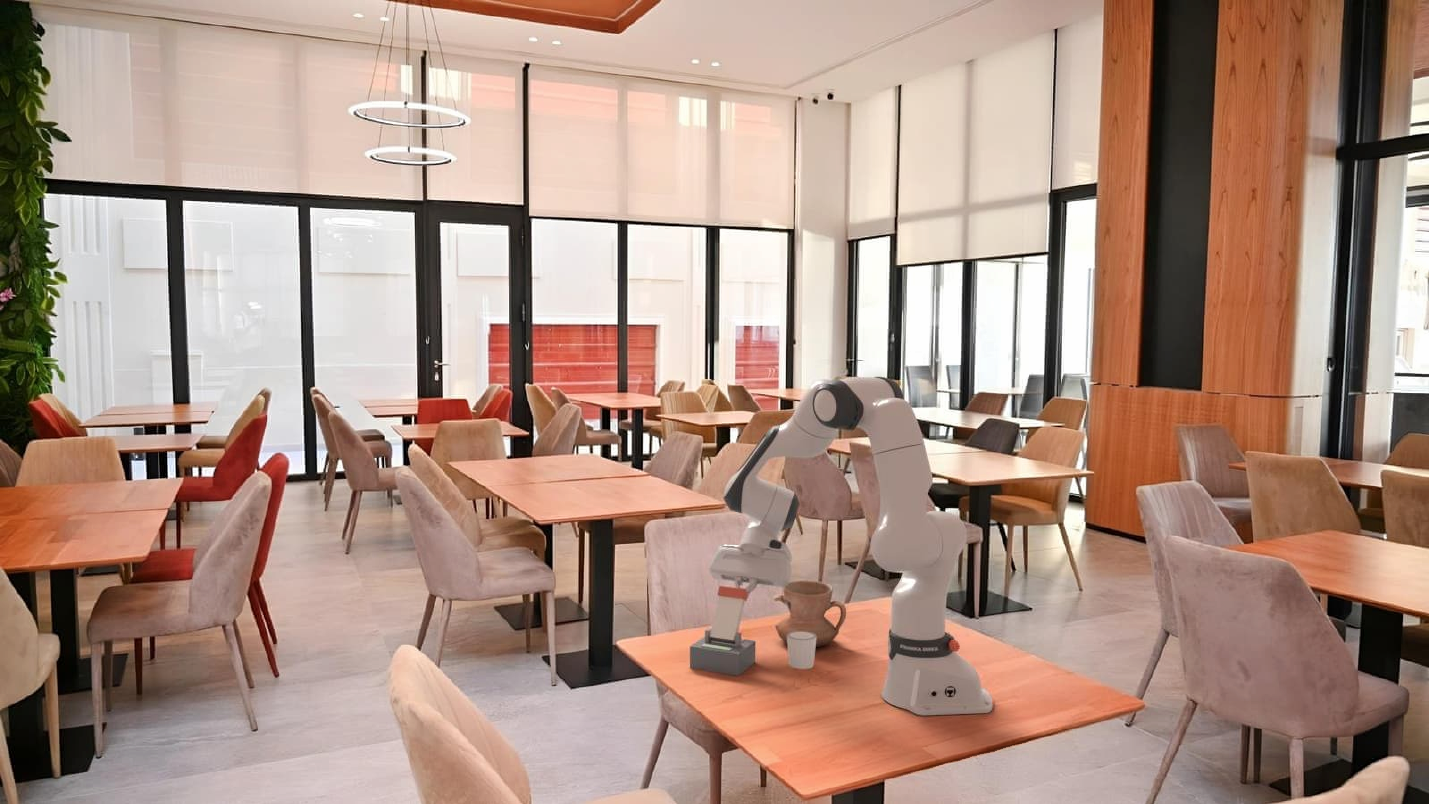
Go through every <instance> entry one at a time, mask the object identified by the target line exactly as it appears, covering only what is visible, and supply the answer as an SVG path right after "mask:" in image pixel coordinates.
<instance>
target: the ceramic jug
mask: <svg viewBox="0 0 1429 804" xmlns="http://www.w3.org/2000/svg"><path fill="white" fill-rule="evenodd" d="M782 593H783V594H776V595H774V596H773V600H774V601H775V602H777V601H778V602H781V603H782V604H784V605H785V606H786V607H787V609H788V611H789V615H788V616H786V617H784V618H783V619H781V621H780V622H777V624H775V625H774V626H775V630H776V631H777V635H778V637H779V638H780V639H781V640H782V641H783V642H785V643H787V634H788V633H790V632H794V631H806V632H811V633H814V634H816V636H817V638H816V647H822V646H825V645H828V644H830V643H831V642H833V641H834V640H835V639H836V637H837V636H838V635H839V632H840V631H839V630H840V629H841V627H842V625H843V624H844V623H845V621H846V616H847V609H846V606H845V604H844V603H843V602H841V601H839V600H833V601H831V600H832V596H833V593H834V592H833V587H832V585H830V584H828V583H826V582H821V581H818V580H817V581H816V580H809V579H808V580H806V579H805V580H793V581H791V580H790V581H789V584H788V585H787V586H785V587H782ZM833 607H834V608H835V607H837V608H839V609H840V617H839V618H838V619H839V620H838V622H837V624H836V626H835V625H834V623H832V622H831V621H830V620H829V619H828V618H826V616H825V614H826V612H827V611H829V610H830V609H831V608H833ZM816 647H815V648H816Z"/></svg>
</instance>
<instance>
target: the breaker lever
mask: <svg viewBox="0 0 1429 804" xmlns="http://www.w3.org/2000/svg"><path fill="white" fill-rule="evenodd" d="M745 589H746V588H745ZM745 589H739V588H737V587H730V586H723V585H719V586H718V591H717V597H718V599H717V602H716V603H717V604H716V608H715V612H714V613H715V614H714V617H713V621H712V626H711V635H710V640H711V641H716V642H723V643H729V644H735V635H736V634H737V633H739V630H740V626H741V621H742V616H743V612H744V606H745V603H746V602H747V600H748V598H747V596H748V592H747V591H746V590H745Z"/></svg>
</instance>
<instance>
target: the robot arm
mask: <svg viewBox="0 0 1429 804" xmlns="http://www.w3.org/2000/svg"><path fill="white" fill-rule="evenodd" d="M856 428H859V429H861V430H862V431H864V432H865V433H866V435H867V436H868V440H869V443H870V449H871V452H872V453H871V454H872V458H873V461H874V462H873V463H874V467H875V472H876V476H877V481H878V486H879V487H878V489H879V497H880V500H879V501H880V503H879V504H880V505H879V514H878V515H879V516H878V522H877V525H876V528H875V530H874V532H873V534H872V536H871V539H870V552H871V555H872V556H871V557H873V560H874V562H875V563H876V564H877V566H879V568H881V569H883V570H884V571H886V572H890V573H902V575H901V578H900V580H899V581H898V583H897V585H896V586H895V587H894V589H893V591H892V594H891V614H890V615H891V618H890V620H891V621H890V629H889V631H888V637H887V654H888V658H889V660H888V668H887V673H886V677H885V678H886V679H885V682H884V686H883V689H882V693H881V697H882V699H883V700H885V702H887V703H888V704H891V706H892V705H893V706H895V707H898V708H901V709H905V710H908V711H909V712H911V713H914V714H916V715H918V716H937V715H938V716H940V715H941V716H944V715H962V714H963V715H966V714H968V715H969V714H972V715H973V714H988V713H990V712H991V711H992V710H993V708H994V704H993V703H994V702H993V698H992V696H991V695H990V692H988V690H986V688H984V687H982V682H981V678H980V674H979V673H978V671H977V669H976V668H975V666H973V665H972V664H971V663H970V662H969V661H967V660H966V659H965V658H964V657H962V656H961V655H960V654H958V653H957V652H958V651H959V650H960V648H961V646H960V644H959V641H957V640H956V639H955V637H954V636H953V635H952V634H951V633H950V632H949V631H948V632H947V631H946V613H947V611H946V610H947V609H946V608H947V598H948V592H949V589H950V588H949V587H950V583H951V579H952V576H953V573H954V569H955V566H956V563H957V560H958V558H959V556H960V554H961V553H962V552H963V550H964V548H965V546H966V545H967V539H968V533H967V528H966V526H965V524H964V522H963V520H962V519H961V518H960V517H959V516H957V515H956V514H955V513H952V512H948V511H943V510H929V511H927V500H928V493H929V490H930V488H931V486H932V485H933V473H932V471H931V466H930V461H929V457H928V453H927V448H926V444H925V441H924V437H923V433H922V430H921V428H920V424H919V422H918V419H917V416H916V414H915V412H914V409H913V407H912V405H911V404H910V403H909V402H908V401H906V400H905V399H904V394H903V390H902V389H901V387H900V385H899V383H897V382H896V381H895V380H893V379H890V378H888V377H884V376H874V377H871V376H870V377H869V376H868V377H865V376H863V377H862V376H852V377H851V376H850V377H846V378H841V379H826V378H823V379H818V380H816V381H814V382H813V383H812V384H811V385H810V386H809V387H808V389H807V390H806V392H805V393H804V394H803V396H802V398H801V399H800V401H799V402H798V404H797V406H796V408H795V410H794V412H793V414H792V416H791V417H790V418H789V419H788V420H787V421H785V422H784V423H782V424H780V425H779V424H778V425H773V426H772V427H771V428H769V430H768V431H767V432H766V433H765V434H764V435H763V437H762V438H760V440H759V442H758V443H757V444H756V446H755V447H754V449H753V450H752V451H751V453H750V454H749V456H748V457H747V458H746V459H745V460H744V462H743V463H742V464H741V466H740V467H739V469H737V471H736V472H735V473H734V474H733V475H732V476H731V478H729V480H728V482H727V483H726V485H725V488H724V492H723V499H724V500H723V501H724V502H725V504H726V506H727V507H728V509H729V510H730V511H731V512H736V513H739V514H743V515H746V516H748V519H747V520H748V521H747V522H748V523H747V526H746V528H745V529H744V531H743V533H742V536H741V540H740V542H739V545H736V544H727V543H726V544H723V545H721V546H719V547H716V550H715V554H714V556H713V559H711V560H712V561H711V562H710V564H709V567H708V571H709V574H710V575H711V577H712V578H713V579H715V580H720V581H721V580H722V581H728V582H729V581H730V582H734V584H735V588H739V589H745V590H746V591H747V592H748V596H747V599H749V597H750V593H752V592H753V591H755V590H756V588H757V587H758V585H761V586H768V587H769V586H770V587H776V588H783V587H785V586H787V585H788V584H789V582H791V575H792V565H791V562H792V561H793V556H792V554H791V550H790V548H789V547H788V545H787V544H786V543H785V542H783V541H781V540H779V534H780V533H781V532H785V531H786V530H788V529H790V528H792V526H793V525H794V523H795V521H796V518H797V513H798V510H799V507H800V500H799V496H797V493H795V492H794V491H793V490H791V489H789V488H786V487H784V486H781V485H779V484H775V483H773V482H772V481H771V482H770V481H768V480H765V479H763V478H761V477H759V476H758V474H759V473H760V472H761V470H763V468H764V467H765V465H766V464H767V462H769V461H770V460H771V459H775V458H781V457H782V458H784V457H785V458H786V457H787V458H797V459H798V458H799V459H810V458H811V459H813V458H816V457H818V456H821V455H823V454H824V453H826V451H828V449H829V448H830V447H831V445H832V443H833V442H834V440H835V438H836V437H837V434H838V432H839V430H846V431H850V432H851V431H854V430H855V429H856ZM744 583H745V584H748V585H747V586H746V587H745V588H744V587H743V588H742V587H741V586H743V585H744Z"/></svg>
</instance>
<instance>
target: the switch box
mask: <svg viewBox="0 0 1429 804" xmlns="http://www.w3.org/2000/svg"><path fill="white" fill-rule="evenodd" d="M711 630H712V627H710V628H709V627H708V628H706V629H705V630H704V636H703V637H702V638H700V639H699V640H698V641H696V642H695V643H692V644H691V645H690V646H689V668H690V669H694V670H695V669H696V670H700V669H702V671H706V672H707V671H708V672H714V673H719V674H725V675H730V676H734V677H735V676H736V677H738V676H740V675H741V674H743V673H744V672H745V671H746V670H747V669H749V668H750V667H751V666H752V665H754V664H755V663H756V640H751V639H746V638H745V639H744V638H742V632H738V633H737V634H736V635H735V644H729V643H723V642H716V641H711V640H710V635H711ZM754 662H755V663H754ZM753 663H754V664H753ZM745 669H746V670H745ZM744 670H745V671H744Z"/></svg>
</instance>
